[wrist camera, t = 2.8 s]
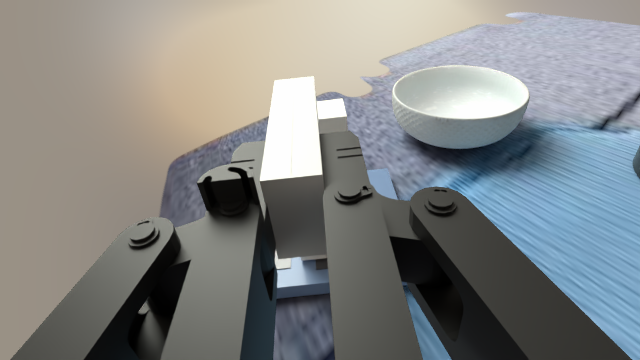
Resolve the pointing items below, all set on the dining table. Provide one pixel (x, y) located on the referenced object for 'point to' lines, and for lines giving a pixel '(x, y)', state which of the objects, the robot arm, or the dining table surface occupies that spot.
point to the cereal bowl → (459, 105)
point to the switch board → (314, 273)
